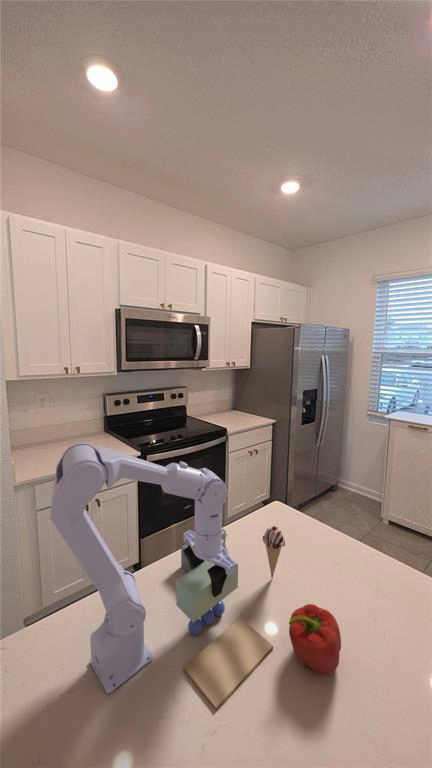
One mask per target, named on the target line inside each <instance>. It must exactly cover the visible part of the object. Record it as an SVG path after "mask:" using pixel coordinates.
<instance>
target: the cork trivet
mask: <svg viewBox="0 0 432 768" xmlns="http://www.w3.org/2000/svg"><path fill="white" fill-rule="evenodd" d="M273 649H274V645H273V644H272V643H271V642H270V641H268V640H267V639H266V638H265V637H264V636H262V634H261V633H259V631H257V630H256V629H255V628H254V627H253V626H251V625H250V624H249V623H248V622H247V621H245V619H244V618H242V617H239V618H238V619H237V620H235V621H234V622H233V623H232V624H230V626H228V627H227V629H225V630H224V631H223V632H222V633H221V634H220V635H218V636H217V637H216V638H215V639H214V640H213V641H211V643H210V644H208V645H207V646H206V647H205V648H204V649H202V650H201V651H200V652H199V653H198V654H197V655H195V656H194V657H193V658H192V659H191V660H190V661H189V662H188V663H187V664H185V665H184V666H183V671H184V673H186V675H187V676H188V678H189V679H190V680H191V681H192V683H194V685H195V686H196V688H197V689H198V690H199V691H200V692H201V693H202V695H203V696H204V697H205V698H206V699H207V702H209V703H210V705H211V706H212V707H213V708H214V710H215V711H217V710H218V709H219V708H220V707H221V706H222V705H223V704H224V703H225V702H226V701H227V699H228V698H230V696H231V695H232V694H233V693H234V692H235V690H236V689H237V688H238V687H240V685H241V684H242V683H243V682H244V681H245V680H246V679H247V678H248V677H249V675H250V674H251V673H252V672H253V671H254V670H255V669H256V668H257V667H258V666H259V664H261V662H263V660H264V659H265V658H266V656H267V655H268V654H269V653H270V652H271V651H272V650H273Z"/></svg>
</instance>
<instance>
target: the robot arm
mask: <svg viewBox="0 0 432 768" xmlns="http://www.w3.org/2000/svg"><path fill="white" fill-rule="evenodd" d="M122 479H126V480H127V479H128V480H132V481H138V482H142V483H143V482H144V483H149V484H155V485H160V487H161V490H162V491H163V492H164V493H166V494H170V495H174V496H178V497H182V498H187V499H192V500H194V531H193V530H191V529H189V530H187V531H185V532H183V536H182V537H183V542H184V543H186V544H187V543H189V545H188V547H187V548H185V549H184V554H185V556H186V557H187V559H188V561H189V564H190V567H191V570H192V569H194V568H195V567H197V566H199V565H200V564H202V563H203V562H204V560H205V561H208V562H210V563H213V564H215V566H212V567H211V568H209V569H208V570H207V572H208V574H209V576H210V579H211V585H212V595H213V596H214V597H217V596H218V595H219V594H221V593H222V589H223V586H224V583H225V580H226V578H227V576H230V575H231V574H233V573H234V572H235V571H236V562H237V561H235V560H234V559H232V557H231V555H228V554H229V552H228V553H227V552H226V550H225V549H224V547H223V546H222V545H223V544H224V541H223V540H222V529H223V507H224V506H223V505H224V503H225V502H226V499H227V498H228V495H229V489H227V486H226V483H225V482H224V481H223V480H222V478H220V477H219V476H218V475H217V474H216V473H214V472H213V471H211V470H210V469H208V468H207V467H203V468H199V469H197V468H194V467H191V466H189V465H188V464H187V463H186V462H184V461H181V460H180V461H179V463H176V462H171V463H169V464H167V465H166V466H164V465H160V464H156V463H153V462H152V461H148V460H146V459H145V460H144V459H142V458H138V457H136V456H132V455H129V454H126V453H123V452H120V451H117V450H115V449H111V448H108V447H105V446H102V445H96V447H95V446H94V445H92V444H90V443H87V442H79V443H78V442H77V443H74V444H72V445H70V446H69V447H68V448H67V449H65V451H64V452H63V454H62V456H61V457H60V459H59V461H58V463H57V464H56V467H55V476H54V483H53V488H52V494H51V500H50V516H49V517H50V520H51V522H52V523H53V525H54V527H55V529H56V531H58V533H59V534H60V535H61V538H62V539H63V540H64V542H65V544H66V545H67V546H68V547H69V550H70V551H71V553H72V554H73V555H74V557H75V558H76V560H77V561H78V563H79V564H80V566H81V567H82V569H83V571H84V572H85V574H86V575H87V576H88V578H89V579H90V581H91V583H92V584H93V586H94V587H95V589H96V590H97V592H98V594H99V596H100V598H101V601H102V604H103V606H104V609H105V616H104V618H103V619H104V620H103V621H102V623H101V624H100V625H99V627H98V628H97V629H96V630H94V631H93V632H91V634H90V637H89V640H90V642H89V643H90V657H91V658H90V659H89V663H90V665H91V667H92V668H93V670H94V673H95V675H96V676H97V678H98V680H99V682H100V683H102V684H101V685H102V687H103V689H104V691H105V693H106V694H108V693H109V694H112V692H114V690H115V691H116V689H117V688H118V687H120V686H121V685H122V684H123V683H125V682H126V681H128V679H130V678H131V677H133V676H134V675H135V674H136V673H138V672H139V671H140V670H142V668H143V667H145V666H146V665H148V664H149V663H150V662H151V661H152V660H154V655H153V653H152V652H151V651H150V650H149V648H148V647H147V645H146V644H145V634H144V633H145V628H144V627H145V625H144V622H145V620H146V616H147V610H146V607H145V606H144V604H143V601H142V598H141V595H140V592H139V590H138V587H137V583H136V578H135V576H134V574H133V573H131V572H130V571H128V570H125V569H124V568H123V566H122V564H119V563H118V562H117V560H116V559H115V557H114V556H113V554H112V552H111V550H110V549H109V547H108V546H107V544H106V542H105V540H104V538H103V536H102V535H101V534H100V532H99V531H98V529H97V527H96V526H95V524H94V522H93V521H92V519H91V517H90V516H89V514H88V513H87V511H86V507H87V506H88V504H89V503H90V502H91V501H92V500H93V498H95V497H96V496H97V495H98V494H99V493H100V491H101V490H102V488H103V487H104V485H105V484H106V488H108V489H109V488H111V487H112V486H114V485H115V484H116V483H118V482H119V481H120V480H122ZM233 560H234V561H235V562H234V561H233Z"/></svg>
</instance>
